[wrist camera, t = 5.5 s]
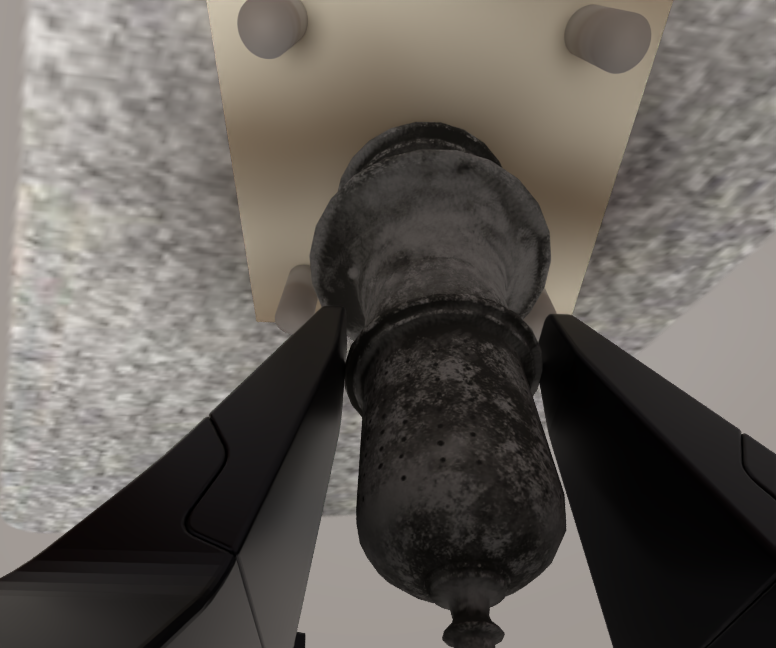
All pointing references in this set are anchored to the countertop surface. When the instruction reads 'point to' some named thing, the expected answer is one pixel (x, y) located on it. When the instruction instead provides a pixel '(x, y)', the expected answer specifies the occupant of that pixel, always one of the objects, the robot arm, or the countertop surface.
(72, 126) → the countertop surface
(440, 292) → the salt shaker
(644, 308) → the countertop surface
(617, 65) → the pin board
